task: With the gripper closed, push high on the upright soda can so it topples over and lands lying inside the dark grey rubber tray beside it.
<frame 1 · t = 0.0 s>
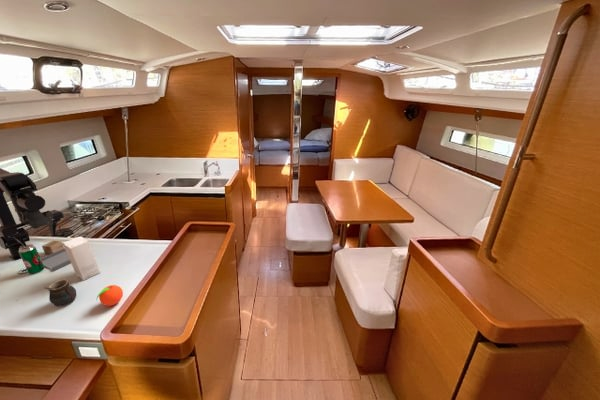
hand: (40, 241, 108), 15 cm above the table, fingers open, 9 cm apart
soda can: (37, 271, 113), on the table
skincare box: (87, 274, 111), on the table
mate gourd: (66, 302, 96), on the table
clementine: (112, 304, 95), on the table
walnut block: (55, 252, 126), on the table
tray: (63, 259, 121), on the table
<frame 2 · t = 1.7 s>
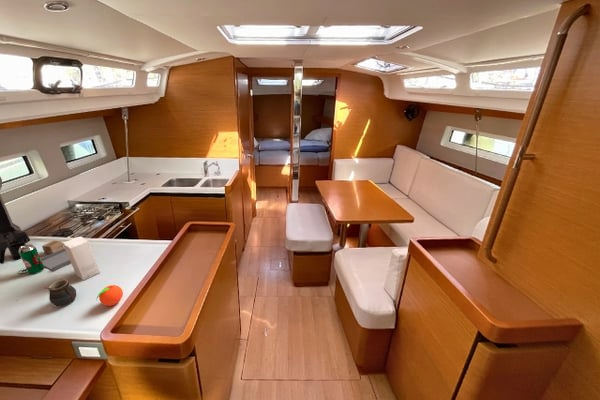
hand: (2, 263, 103), 9 cm above the table, fingers closed
nothing on the table moved.
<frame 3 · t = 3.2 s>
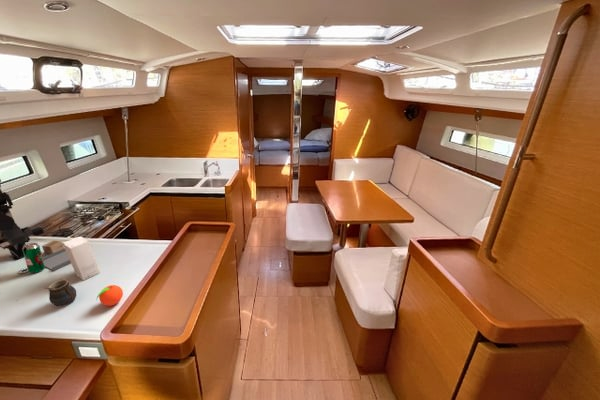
hand: (19, 257, 107), 9 cm above the table, fingers closed
soda can: (37, 270, 113), on the table, touching gripper
everything else where it was.
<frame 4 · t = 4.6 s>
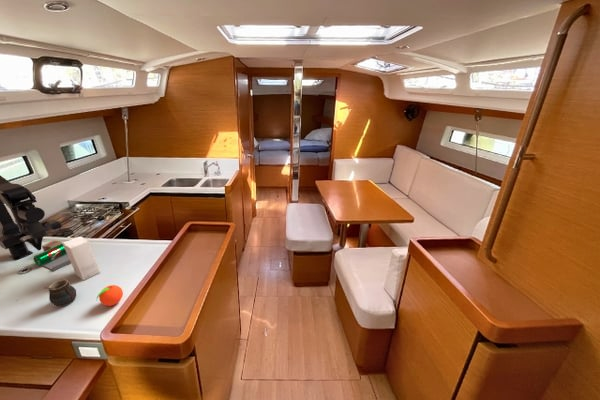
hand: (39, 250, 113), 8 cm above the table, fingers closed
soda can: (36, 261, 114), point 3 cm above the table, touching tray
everything else where it was.
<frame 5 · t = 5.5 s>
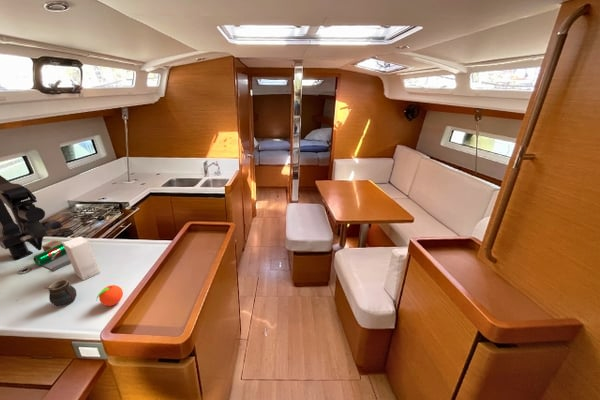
hand: (39, 249, 113), 8 cm above the table, fingers closed
nothing on the table moved.
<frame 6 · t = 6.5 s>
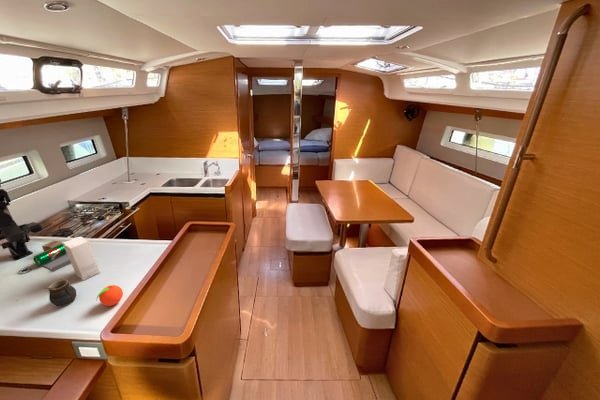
hand: (18, 254, 107), 10 cm above the table, fingers closed
nothing on the table moved.
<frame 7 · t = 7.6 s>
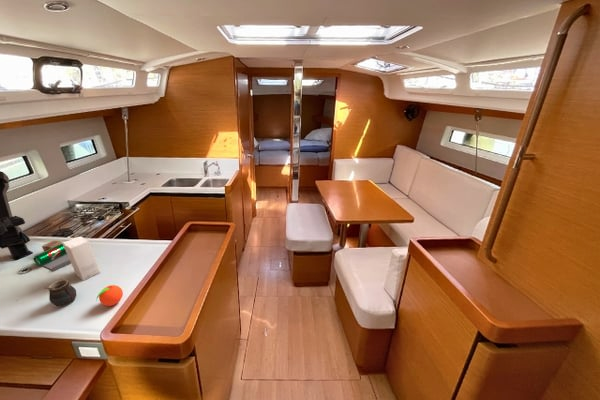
nothing on the table moved.
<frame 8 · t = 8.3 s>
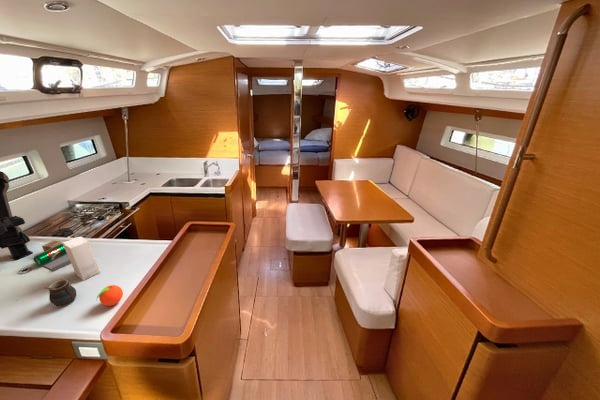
nothing on the table moved.
at the end: soda can tilted 90°; soda can inside the target area (5.5 cm from its centre), point 2.9 cm above the table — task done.
